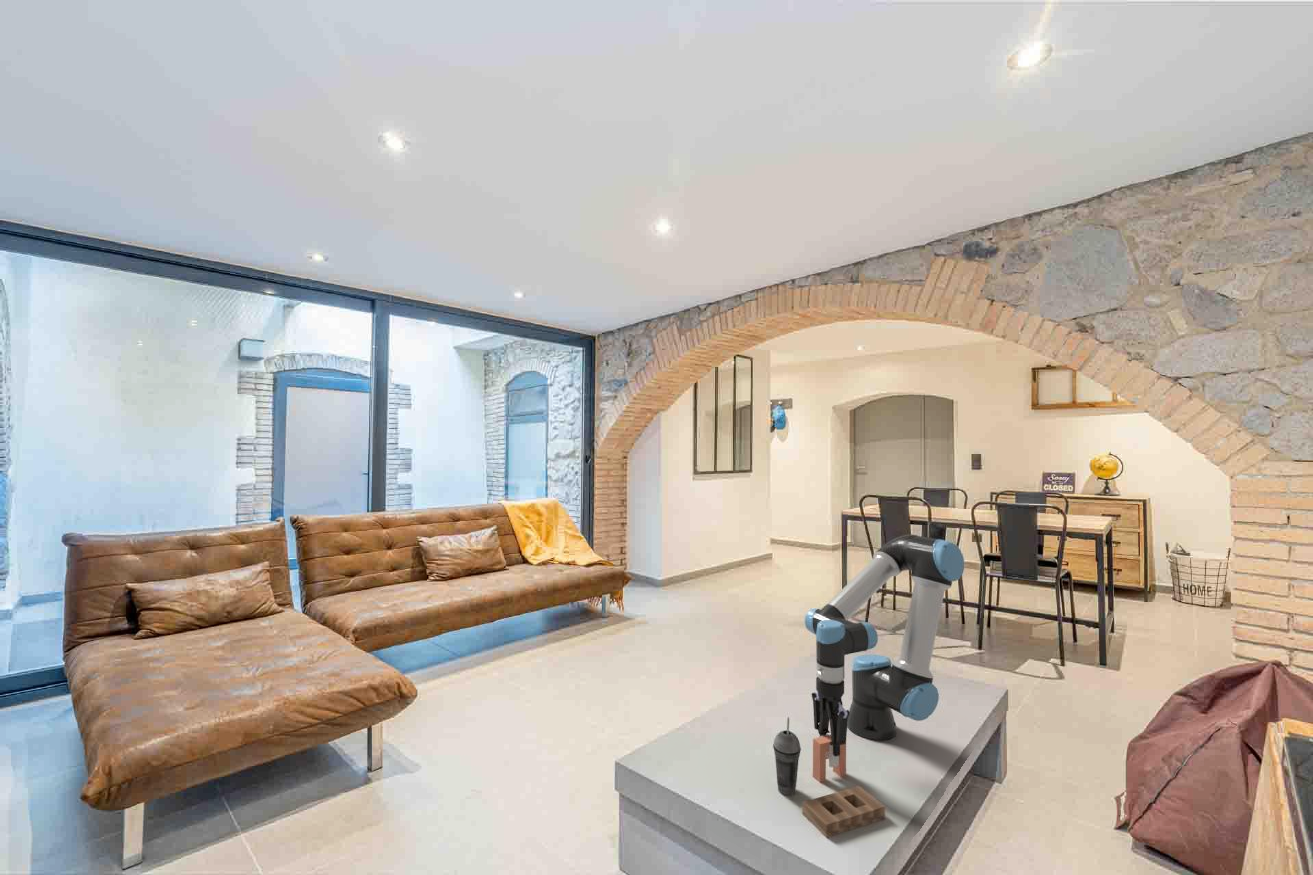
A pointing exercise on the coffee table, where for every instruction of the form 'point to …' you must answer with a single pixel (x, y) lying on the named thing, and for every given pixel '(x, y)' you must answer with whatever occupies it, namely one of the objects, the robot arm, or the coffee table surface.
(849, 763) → the coffee table surface
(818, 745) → the block
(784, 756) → the beverage cup
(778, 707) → the coffee table surface
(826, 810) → the slotted wooden board
